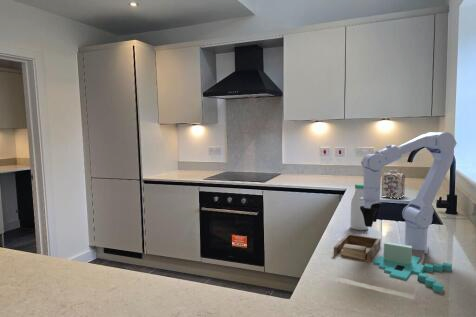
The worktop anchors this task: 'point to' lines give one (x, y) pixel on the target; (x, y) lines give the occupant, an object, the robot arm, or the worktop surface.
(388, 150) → the robot arm
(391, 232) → the worktop surface
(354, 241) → the wooden tray
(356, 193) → the milk bottle
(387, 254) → the panel
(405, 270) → the alien figure
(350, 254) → the offcut lower
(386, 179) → the decorative jar
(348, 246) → the offcut upper
